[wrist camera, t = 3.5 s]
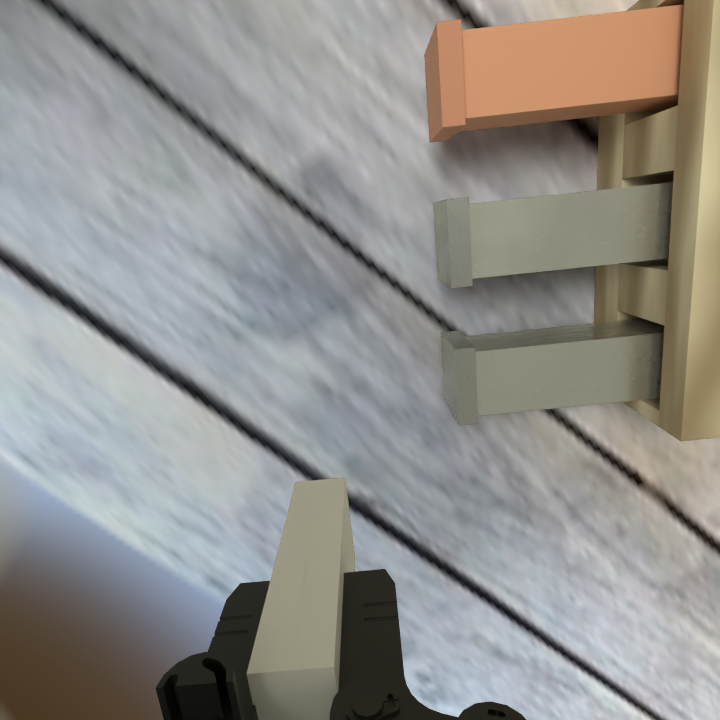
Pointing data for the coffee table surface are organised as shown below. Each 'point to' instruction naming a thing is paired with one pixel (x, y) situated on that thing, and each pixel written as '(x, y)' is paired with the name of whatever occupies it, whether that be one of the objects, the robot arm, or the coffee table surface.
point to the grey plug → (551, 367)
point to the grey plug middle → (551, 232)
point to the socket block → (675, 229)
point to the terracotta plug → (552, 69)
